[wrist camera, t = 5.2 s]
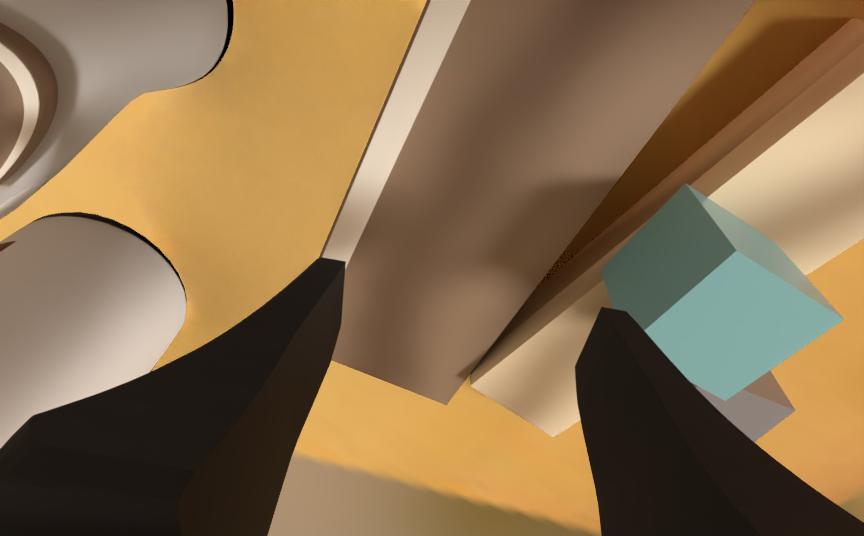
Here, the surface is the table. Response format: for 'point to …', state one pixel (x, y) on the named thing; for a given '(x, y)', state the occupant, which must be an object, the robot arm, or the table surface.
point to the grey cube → (754, 406)
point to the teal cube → (715, 294)
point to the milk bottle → (80, 312)
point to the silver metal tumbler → (90, 73)
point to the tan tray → (729, 188)
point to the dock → (498, 166)
